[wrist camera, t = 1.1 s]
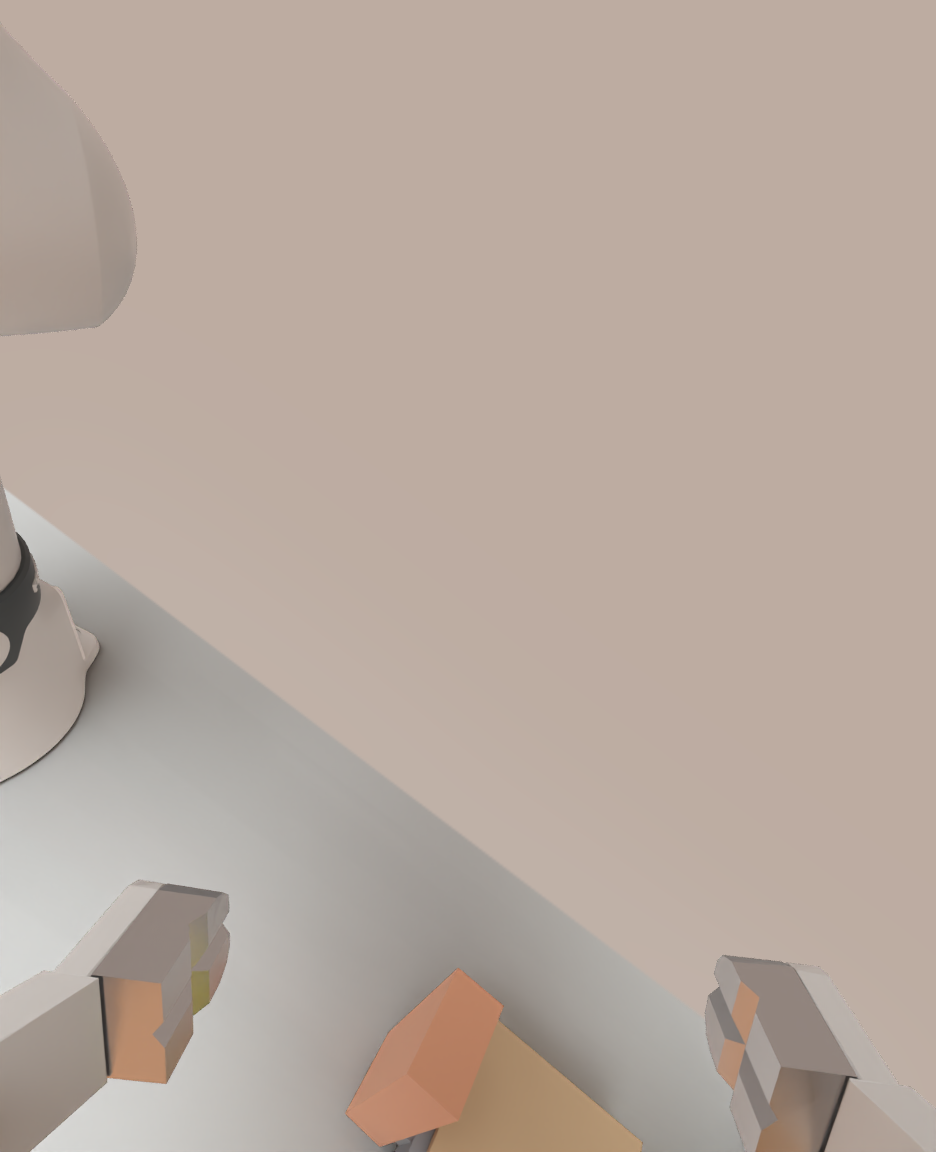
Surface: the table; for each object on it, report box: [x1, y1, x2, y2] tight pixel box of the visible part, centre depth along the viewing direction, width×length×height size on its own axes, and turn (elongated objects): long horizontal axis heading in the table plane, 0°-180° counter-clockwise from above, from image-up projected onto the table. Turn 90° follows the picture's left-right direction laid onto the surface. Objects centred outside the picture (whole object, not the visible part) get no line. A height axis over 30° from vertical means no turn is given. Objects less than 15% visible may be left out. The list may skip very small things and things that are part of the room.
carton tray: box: [345, 968, 504, 1152], centre depth 24 cm, size 13×7×14 cm, turn 60°
